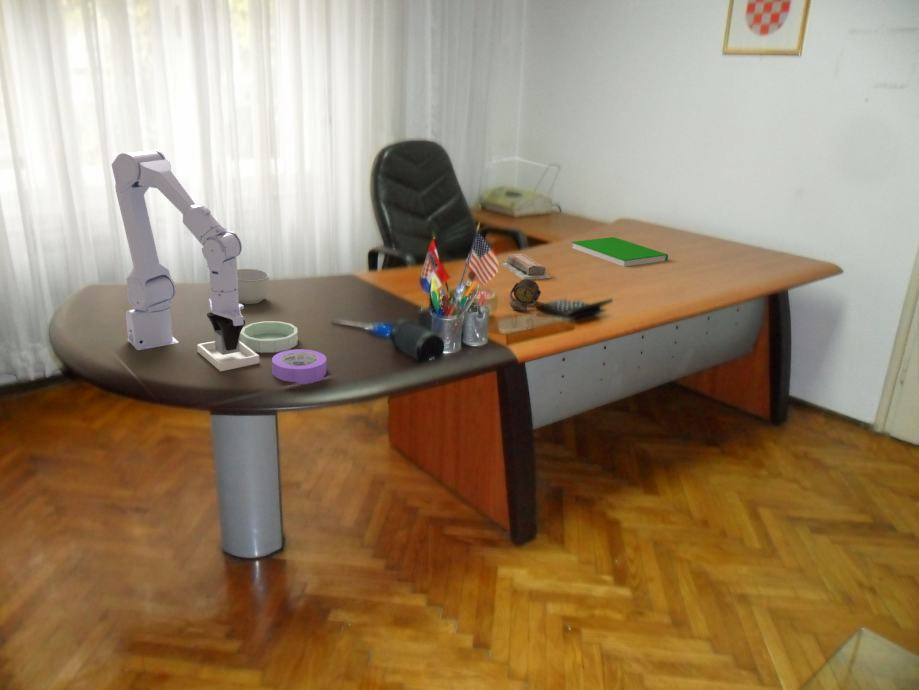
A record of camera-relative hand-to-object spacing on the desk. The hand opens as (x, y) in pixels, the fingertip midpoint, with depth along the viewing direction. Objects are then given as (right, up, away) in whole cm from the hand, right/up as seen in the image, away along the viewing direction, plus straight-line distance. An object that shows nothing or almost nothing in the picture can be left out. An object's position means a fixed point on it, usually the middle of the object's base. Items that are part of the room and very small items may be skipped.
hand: (227, 346), depth 170 cm
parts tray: (0, -3, +1) cm, 3 cm away
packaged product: (+74, +24, +84) cm, 115 cm away
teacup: (-7, +12, +39) cm, 41 cm away
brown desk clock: (+70, +12, +51) cm, 88 cm away
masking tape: (+17, -6, -3) cm, 18 cm away
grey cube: (0, -1, 0) cm, 1 cm away
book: (+112, +34, +115) cm, 164 cm away
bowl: (+7, 0, +11) cm, 13 cm away
